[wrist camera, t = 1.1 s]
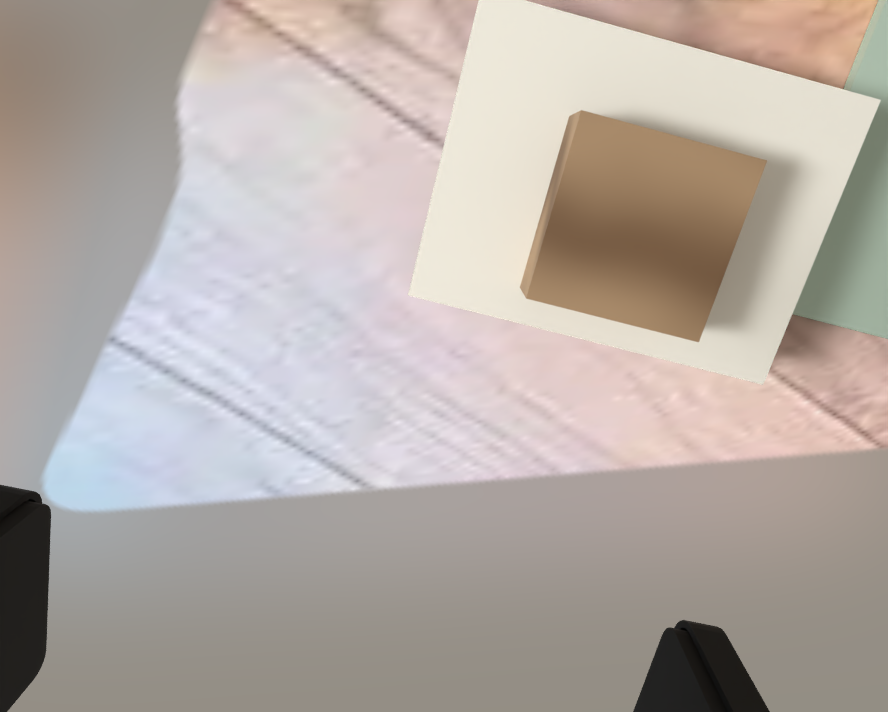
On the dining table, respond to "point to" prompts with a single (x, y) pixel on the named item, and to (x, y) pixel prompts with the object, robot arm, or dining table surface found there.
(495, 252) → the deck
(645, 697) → the robot arm
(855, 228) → the mat
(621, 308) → the block
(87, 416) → the dining table surface
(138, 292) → the dining table surface
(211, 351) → the dining table surface
